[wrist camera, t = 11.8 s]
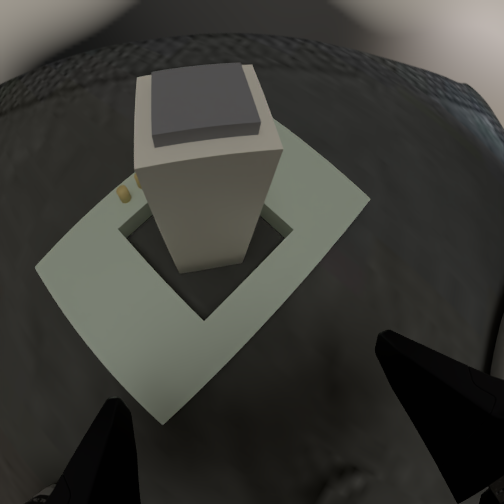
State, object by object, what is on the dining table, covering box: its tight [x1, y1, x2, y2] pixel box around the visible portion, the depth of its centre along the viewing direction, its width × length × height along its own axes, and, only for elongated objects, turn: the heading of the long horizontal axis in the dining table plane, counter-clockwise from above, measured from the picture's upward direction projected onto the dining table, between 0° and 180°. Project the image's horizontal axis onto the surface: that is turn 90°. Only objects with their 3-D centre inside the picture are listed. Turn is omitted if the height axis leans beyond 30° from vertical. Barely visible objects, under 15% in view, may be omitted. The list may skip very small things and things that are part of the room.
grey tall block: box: [134, 63, 283, 274], centre depth 15 cm, size 5×4×14 cm
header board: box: [35, 119, 370, 425], centre depth 19 cm, size 22×14×3 cm, turn 137°
